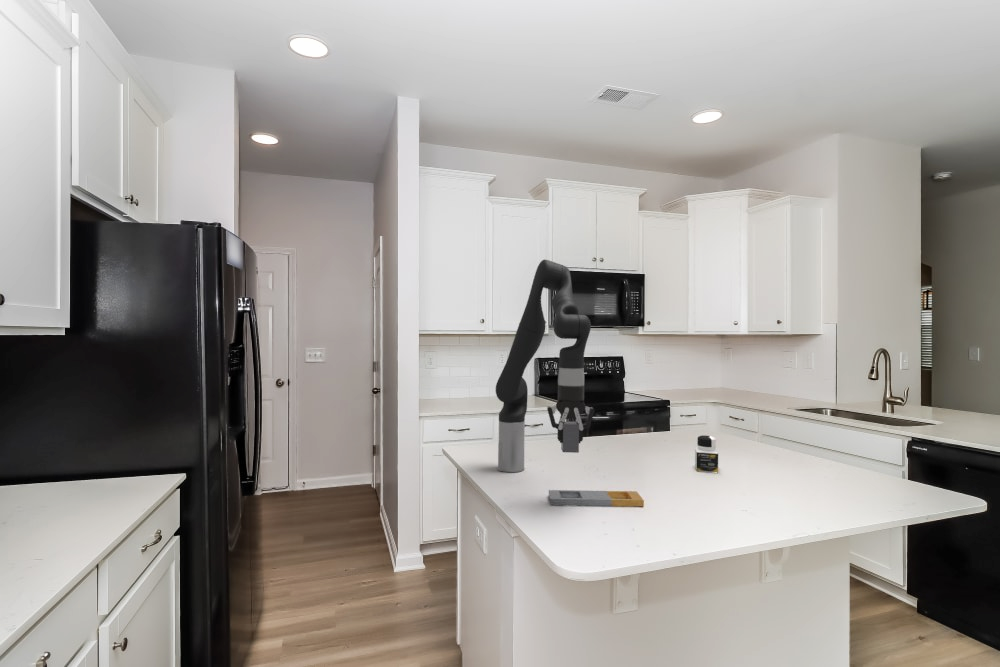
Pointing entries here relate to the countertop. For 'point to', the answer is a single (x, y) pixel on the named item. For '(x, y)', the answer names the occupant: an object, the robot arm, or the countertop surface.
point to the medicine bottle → (706, 454)
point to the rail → (595, 498)
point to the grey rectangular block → (570, 437)
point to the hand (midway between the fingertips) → (570, 442)
